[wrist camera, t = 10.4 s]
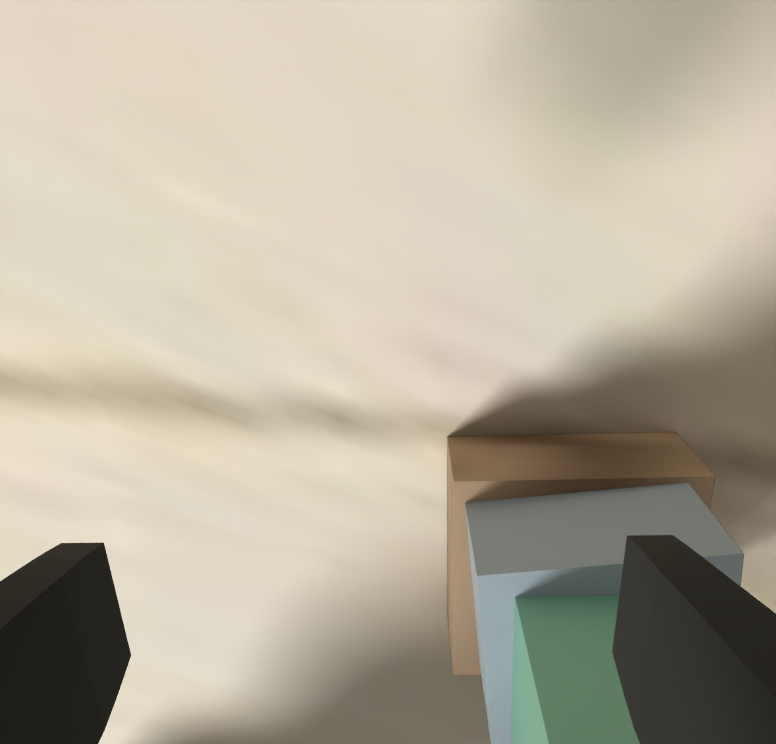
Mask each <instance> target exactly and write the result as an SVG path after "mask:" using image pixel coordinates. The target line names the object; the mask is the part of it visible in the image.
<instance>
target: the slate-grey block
mask: <svg viewBox="0 0 776 744" xmlns="http://www.w3.org/2000/svg"><path fill="white" fill-rule="evenodd" d="M465 510H466V521H467V532H468V542H469V553H470V564H471V575H472V586H473V597H474V608H475V619H476V630H477V641H478V652H479V663H480V671H481V678H482V685H483V692H484V699H485V706H486V713H487V720H488V727H489V734H490V741H491V744H512V738H511V715H512V681H513V647H514V613H515V597H544V596H588V595H619V593H620V586H621V578H622V570H623V562H624V554H625V546H626V539H627V536H629V535H674V536H675V537H676V538H678V539H679V540H681V541H682V542H683V543H685V544H686V545H687V546H689V547H690V548H691V549H693V550H694V551H695V552H697V553H698V554H699V555H701V556H702V557H703V558H705V559H706V560H707V561H708V562H710V563H711V564H712V565H714V566H715V567H716V568H717V569H719V570H720V571H721V572H723V573H724V574H725V575H726V576H728V577H729V578H730V579H731V580H733V581H734V582H735V583H737V584H738V585H739V586H741V577H742V567H743V557H744V553H743V552H742V550H741V549H740V548H739V547H738V545H737V544H736V543H735V541H734V540H733V539H732V538H731V536H730V535H729V534H728V533H727V531H726V530H725V529H724V528H723V526H722V525H721V524H720V523H719V521H718V520H717V519H716V518H715V516H714V515H713V514H712V512H711V511H710V510H709V509H708V507H707V506H706V505H705V504H704V502H703V501H702V500H701V499H700V497H699V496H698V495H697V494H696V492H695V491H694V490H693V488H692V487H691V486H690V485H689V483H688V482H686V483H675V484H664V485H653V486H642V487H631V488H621V489H610V490H599V491H588V492H577V493H566V494H555V495H545V496H534V497H523V498H512V499H501V500H490V501H479V502H469V503H465Z"/></svg>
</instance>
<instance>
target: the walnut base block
mask: <svg viewBox="0 0 776 744" xmlns="http://www.w3.org/2000/svg"><path fill="white" fill-rule="evenodd" d="M714 481H715V476H714V474H713V473H712V472H711V471H710V470H709V469H708V468H707V467H706V465H705V464H704V463H703V462H702V461H701V460H700V459H699V458H698V456H697V455H696V454H695V453H694V452H693V451H692V450H691V449H690V447H689V446H688V445H687V444H686V443H685V442H684V441H683V440H682V438H681V437H680V436H679V435H678V434H677V433H676V432H647V433H599V434H551V435H503V436H455V437H447V616H448V627H449V637H450V648H451V658H452V669H453V675H481V671H480V663H479V652H478V641H477V630H476V619H475V608H474V597H473V586H472V575H471V564H470V553H469V542H468V532H467V521H466V510H465V503H469V502H479V501H490V500H501V499H512V498H523V497H534V496H545V495H555V494H566V493H577V492H588V491H599V490H610V489H621V488H631V487H642V486H653V485H664V484H675V483H686V482H688V483H689V485H690V486H691V487H692V488H693V490H694V491H695V492H696V494H697V495H698V496H699V497H700V499H701V500H702V501H703V502H704V504H705V505H706V506H707V507H708V509H709V508H710V503H711V497H712V492H713V486H714Z"/></svg>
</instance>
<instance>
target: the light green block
mask: <svg viewBox="0 0 776 744" xmlns="http://www.w3.org/2000/svg"><path fill="white" fill-rule="evenodd" d="M618 601H619V595H588V596H544V597H515V613H514V647H513V681H512V715H511V738H512V744H640V743H639V740H638V737H637V735H636V732H635V730H634V727H633V724H632V720H631V717H630V714H629V710H628V707H627V704H626V700H625V697H624V694H623V690H622V686H621V683H620V679H619V675H618V672H617V668H616V664H615V661H614V657H613V653H612V648H613V640H614V632H615V625H616V617H617V609H618Z"/></svg>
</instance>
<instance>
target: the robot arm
mask: <svg viewBox="0 0 776 744" xmlns="http://www.w3.org/2000/svg"><path fill="white" fill-rule="evenodd" d="M612 653H613V657H614V661H615V664H616V668H617V672H618V675H619V679H620V683H621V686H622V690H623V694H624V697H625V700H626V704H627V707H628V710H629V714H630V717H631V720H632V724H633V727H634V730H635V732H636V735H637V737H638V740H639V743H640V744H776V614H775V613H774V612H773V611H771V610H770V609H769V608H768V607H766V606H765V605H764V604H762V603H761V602H760V601H758V600H757V599H756V598H755V597H753V596H752V595H751V594H749V593H748V592H747V591H746V590H744V589H743V588H742V587H740V586H739V585H738V584H737V583H735V582H734V581H733V580H731V579H730V578H729V577H728V576H726V575H725V574H724V573H723V572H721V571H720V570H719V569H717V568H716V567H715V566H714V565H712V564H711V563H710V562H708V561H707V560H706V559H705V558H703V557H702V556H701V555H699V554H698V553H697V552H695V551H694V550H693V549H691V548H690V547H689V546H687V545H686V544H685V543H683V542H682V541H681V540H679V539H678V538H676V537H675V536H674V535H629V536H627V539H626V546H625V554H624V562H623V570H622V578H621V586H620V593H619V601H618V609H617V617H616V625H615V632H614V640H613V648H612ZM130 657H131V653H130V649H129V645H128V641H127V637H126V633H125V629H124V624H123V620H122V616H121V612H120V608H119V604H118V600H117V596H116V591H115V587H114V583H113V579H112V575H111V571H110V567H109V563H108V558H107V554H106V550H105V546H104V543H61V544H59V545H57V546H56V547H54V548H52V549H50V550H49V551H47V552H45V553H44V554H42V555H40V556H39V557H37V558H36V559H34V560H32V561H31V562H29V563H28V564H26V565H25V566H23V567H21V568H20V569H18V570H17V571H15V572H14V573H12V574H11V575H9V576H8V577H6V578H5V579H3V580H2V581H0V744H98V743H99V740H100V738H101V736H102V734H103V732H104V730H105V727H106V725H107V722H108V719H109V717H110V714H111V711H112V709H113V706H114V703H115V701H116V698H117V695H118V692H119V689H120V686H121V683H122V680H123V678H124V675H125V672H126V669H127V666H128V663H129V660H130Z"/></svg>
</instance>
